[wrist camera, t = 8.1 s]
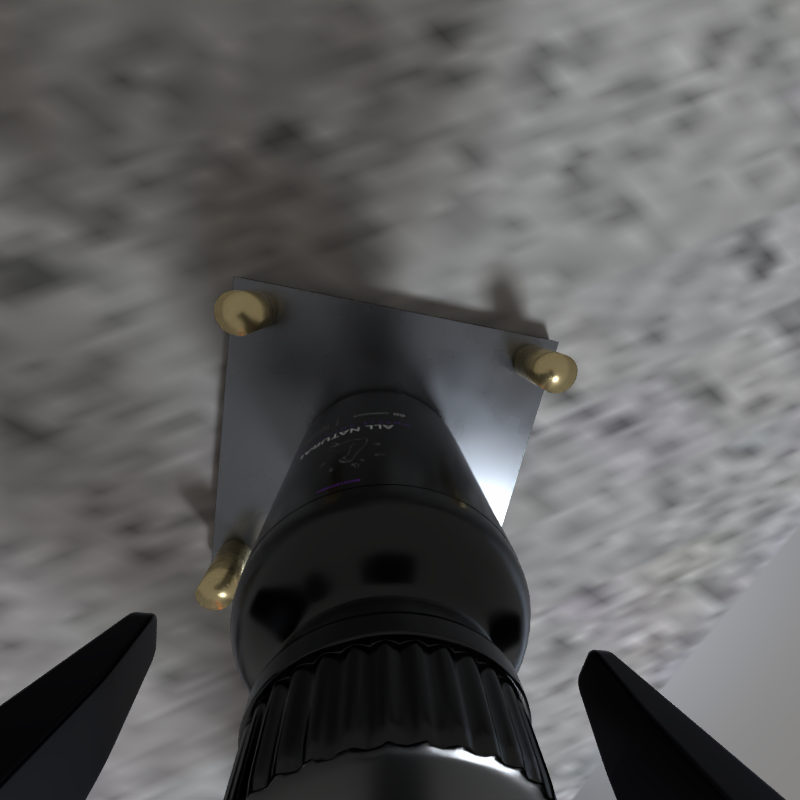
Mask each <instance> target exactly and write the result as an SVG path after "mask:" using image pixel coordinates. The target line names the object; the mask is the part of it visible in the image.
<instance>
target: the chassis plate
mask: <svg viewBox="0 0 800 800" xmlns="http://www.w3.org/2000/svg"><path fill="white" fill-rule="evenodd" d="M214 315H215V319H216V321H217V323H218V325H219V326H220V327H221V328H222V329H223V330H224V331H226V332H227V333H229V343H228V356H227V369H226V382H225V395H224V408H223V421H222V433H221V446H220V459H219V472H218V485H217V498H216V511H215V524H214V537H213V549H212V562H211V565H210V567H209V569H208V570H207V572H206V574H205V576H204V577H203V579H202V581H201V583H200V584H199V586H198V588H197V590H196V593H195V597H196V600H197V602H198V603H199V604H200V605H201V606H202V607H204V608H206V609H209V610H221V609H224V608H226V607H227V606H228V605H229V604H230V603H231V601H232V599H233V597H234V595H235V591H236V588H237V585H238V582H239V580H240V577H241V574H242V572H243V569H244V567H245V564H246V562H247V560H248V557H249V555H250V553H251V551H252V549H253V546H254V544H255V542H256V540H257V538H258V535H259V533H260V531H261V529H262V527H263V524H264V522H265V520H266V518H267V516H268V513H269V511H270V509H271V507H272V505H273V502H274V500H275V498H276V496H277V494H278V492H279V489H280V487H281V485H282V483H283V481H284V478H285V476H286V474H287V472H288V470H289V467H290V465H291V463H292V461H293V459H294V456H295V454H296V452H297V450H298V448H299V446H300V444H301V442H302V440H303V438H304V436H305V434H306V432H307V431H308V429H309V428H310V426H311V425H312V423H313V422H314V421H315V420H316V419H317V417H318V416H319V415H320V414H322V413H323V412H324V411H325V410H326V409H328V408H329V407H330V406H332V405H333V404H335V403H336V402H338V401H340V400H342V399H344V398H347V397H350V396H352V395H356V394H360V393H365V392H373V391H386V392H394V393H399V394H403V395H406V396H409V397H412V398H414V399H416V400H418V401H420V402H422V403H424V404H425V405H427V406H428V407H430V408H431V409H432V410H433V411H434V412H436V413H437V414H438V415H439V417H440V418H441V419H442V420H443V421H444V422H445V424H446V425H447V426H448V428H449V430H450V431H451V433H452V435H453V436H454V438H455V440H456V442H457V443H458V445H459V447H460V449H461V451H462V453H463V455H464V457H465V459H466V460H467V462H468V464H469V466H470V468H471V470H472V472H473V474H474V476H475V478H476V479H477V481H478V483H479V485H480V487H481V489H482V491H483V493H484V495H485V496H486V498H487V500H488V502H489V504H490V506H491V508H492V510H493V512H494V514H495V515H496V517H497V519H498V521H499V523H500V525H501V527H502V523H503V520H504V517H505V514H506V510H507V507H508V504H509V501H510V498H511V494H512V491H513V488H514V485H515V481H516V478H517V475H518V472H519V468H520V465H521V462H522V459H523V456H524V452H525V449H526V446H527V443H528V439H529V436H530V433H531V430H532V426H533V423H534V420H535V417H536V414H537V410H538V407H539V404H540V401H541V397H542V394H543V391H544V390H546V391H548V392H551V393H561V392H564V391H566V390H567V389H569V388H570V387H571V386H572V385H573V383H574V382H575V380H576V377H577V365H576V363H575V361H574V360H573V359H572V358H571V357H569V356H567V355H564V354H561V353H558V352H556V349H557V346H558V342H556V341H553V340H549V339H544V338H539V337H534V336H529V335H524V334H519V333H514V332H509V331H504V330H499V329H494V328H489V327H484V326H479V325H474V324H469V323H464V322H460V321H455V320H450V319H445V318H440V317H435V316H430V315H425V314H420V313H415V312H410V311H405V310H400V309H395V308H390V307H385V306H380V305H375V304H370V303H365V302H360V301H355V300H350V299H345V298H340V297H335V296H330V295H326V294H321V293H316V292H311V291H306V290H301V289H296V288H291V287H286V286H281V285H276V284H271V283H266V282H261V281H256V280H251V279H246V278H241V277H234V279H233V291H228V292H225V293H223V294H222V295H221V296H220V297H219V298H218V299H217V301H216V303H215V306H214Z"/></svg>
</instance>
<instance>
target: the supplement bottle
mask: <svg viewBox="0 0 800 800" xmlns="http://www.w3.org/2000/svg"><path fill="white" fill-rule="evenodd" d="M530 619H531V607H530V596H529V591H528V586H527V582H526V579H525V576H524V573H523V570H522V568H521V565H520V563H519V561H518V558H517V556H516V554H515V552H514V550H513V548H512V546H511V544H510V542H509V540H508V538H507V536H506V534H505V533H504V531H503V529H502V527H501V525H500V523H499V521H498V519H497V517H496V515H495V514H494V512H493V510H492V508H491V506H490V504H489V502H488V500H487V498H486V496H485V495H484V493H483V491H482V489H481V487H480V485H479V483H478V481H477V479H476V478H475V476H474V474H473V472H472V470H471V468H470V466H469V464H468V462H467V460H466V459H465V457H464V455H463V453H462V451H461V449H460V447H459V445H458V443H457V442H456V440H455V438H454V436H453V435H452V433H451V431H450V430H449V428H448V426H447V425H446V424H445V422H444V421H443V420H442V419H441V418H440V417H439V415H438V414H437V413H436V412H434V411H433V410H432V409H431V408H430V407H428V406H427V405H425V404H424V403H422V402H420V401H418V400H416V399H414V398H412V397H409V396H406V395H403V394H399V393H394V392H386V391H373V392H365V393H360V394H356V395H352V396H350V397H347V398H344V399H342V400H340V401H338V402H336V403H335V404H333V405H332V406H330V407H329V408H328V409H326V410H325V411H324V412H323V413H322V414H320V415H319V416H318V417H317V419H316V420H315V421H314V422H313V423H312V425H311V426H310V428H309V429H308V431H307V432H306V434H305V436H304V438H303V440H302V442H301V444H300V446H299V448H298V450H297V452H296V454H295V456H294V459H293V461H292V463H291V465H290V467H289V470H288V472H287V474H286V476H285V478H284V481H283V483H282V485H281V487H280V489H279V492H278V494H277V496H276V498H275V500H274V502H273V505H272V507H271V509H270V511H269V513H268V516H267V518H266V520H265V522H264V524H263V527H262V529H261V531H260V533H259V535H258V538H257V540H256V542H255V544H254V546H253V549H252V551H251V553H250V555H249V557H248V560H247V562H246V564H245V567H244V569H243V572H242V574H241V577H240V580H239V582H238V585H237V588H236V591H235V595H234V599H233V604H232V611H231V625H230V631H231V641H232V649H233V654H234V658H235V662H236V665H237V669H238V671H239V674H240V676H241V679H242V681H243V684H244V686H245V687H246V689H247V691H248V693H249V694H250V696H249V699H248V702H247V706H246V709H245V713H244V716H243V719H242V723H241V727H240V731H239V738H238V752H237V755H236V758H235V762H234V765H233V769H232V772H231V776H230V779H229V782H228V786H227V789H226V793H225V796H224V800H557V798H556V795H555V792H554V789H553V785H552V782H551V779H550V776H549V773H548V770H547V767H546V764H545V762H544V759H543V756H542V753H541V750H540V748H539V745H538V742H537V739H536V736H535V734H534V731H533V728H532V720H531V712H530V708H529V704H528V701H527V698H526V695H525V693H524V690H523V688H522V685H521V682H520V680H519V678H518V675H517V673H518V671H519V669H520V666H521V664H522V661H523V658H524V655H525V651H526V648H527V643H528V638H529V632H530Z"/></svg>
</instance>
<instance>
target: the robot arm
mask: <svg viewBox="0 0 800 800" xmlns="http://www.w3.org/2000/svg"><path fill="white" fill-rule="evenodd" d="M156 633H157V617H156V615H155V614H152V613H140V612H134V613H131V614H129V615H127V616H126V617H124V618H123V619H122V620H120V621H119V622H117V623H116V624H115V625H113V626H112V627H110V628H109V629H107V630H106V631H105V632H103V633H102V634H100V635H99V636H98V637H96V638H95V639H93V640H92V641H91V642H89V643H88V644H86V645H85V646H84V647H82V648H81V649H79V650H78V651H77V652H75V653H74V654H72V655H71V656H69V657H68V658H67V659H65V660H64V661H62V662H61V663H60V664H58V665H57V666H55V667H54V668H53V669H51V670H50V671H48V672H47V673H46V674H44V675H43V676H41V677H40V678H39V679H37V680H36V681H34V682H33V683H31V684H30V685H29V686H27V687H26V688H24V689H23V690H22V691H20V692H19V693H17V694H16V695H15V696H13V697H12V698H10V699H9V700H8V701H6V702H5V703H3V704H2V705H1V706H0V800H86V798H87V796H88V794H89V793H90V791H91V789H92V787H93V785H94V784H95V782H96V780H97V778H98V776H99V774H100V772H101V771H102V769H103V767H104V765H105V763H106V761H107V759H108V757H109V755H110V753H111V750H112V748H113V746H114V744H115V742H116V740H117V737H118V735H119V733H120V731H121V729H122V726H123V724H124V722H125V720H126V718H127V715H128V713H129V711H130V709H131V707H132V704H133V702H134V700H135V698H136V696H137V693H138V691H139V689H140V687H141V684H142V682H143V680H144V678H145V676H146V673H147V671H148V669H149V667H150V665H151V662H152V660H153V657H154V654H155V650H156ZM578 685H579V690H580V694H581V697H582V700H583V703H584V706H585V709H586V712H587V715H588V718H589V721H590V724H591V727H592V730H593V733H594V736H595V740H596V743H597V746H598V749H599V752H600V755H601V758H602V761H603V763H604V767H605V770H606V772H607V775H608V778H609V781H610V783H611V786H612V788H613V791H614V794H615V796H616V798H617V800H785V799H784V798H783V797H782V796H781V795H779V794H778V793H777V792H776V791H775V790H774V789H773V788H771V787H770V786H769V785H768V784H767V783H765V782H764V781H763V780H762V779H760V777H758V776H757V775H756V774H755V773H754V772H752V771H751V770H750V769H749V768H748V767H746V766H745V765H744V764H743V763H742V762H741V761H739V760H738V759H737V758H736V757H735V756H733V755H732V754H731V753H730V752H729V751H728V750H726V749H725V748H724V747H723V746H722V745H720V744H719V743H718V742H717V741H716V740H715V739H713V738H712V737H711V736H710V735H708V734H707V733H706V732H705V731H704V730H703V729H702V728H700V727H699V726H698V725H696V723H694V722H693V721H692V720H691V719H689V718H688V717H687V716H686V715H685V714H684V713H682V712H681V711H680V710H679V709H678V708H677V707H675V706H674V705H673V704H672V703H671V702H670V701H668V700H667V699H666V698H664V696H662V695H661V694H660V693H659V692H658V691H657V690H655V689H654V688H653V687H652V686H651V685H649V684H648V683H647V682H646V681H645V680H644V679H642V678H641V677H640V676H639V675H638V674H636V673H635V672H634V671H633V670H632V669H631V668H629V667H628V666H627V665H626V664H625V663H623V662H622V661H621V660H620V659H619V658H617V657H616V656H615V655H614V654H613V653H611V652H609V651H602V650H592V651H590V652H589V653H588V655H587V658H586V660H585V663H584V665H583V667H582V670H581V672H580V674H579V678H578Z"/></svg>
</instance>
